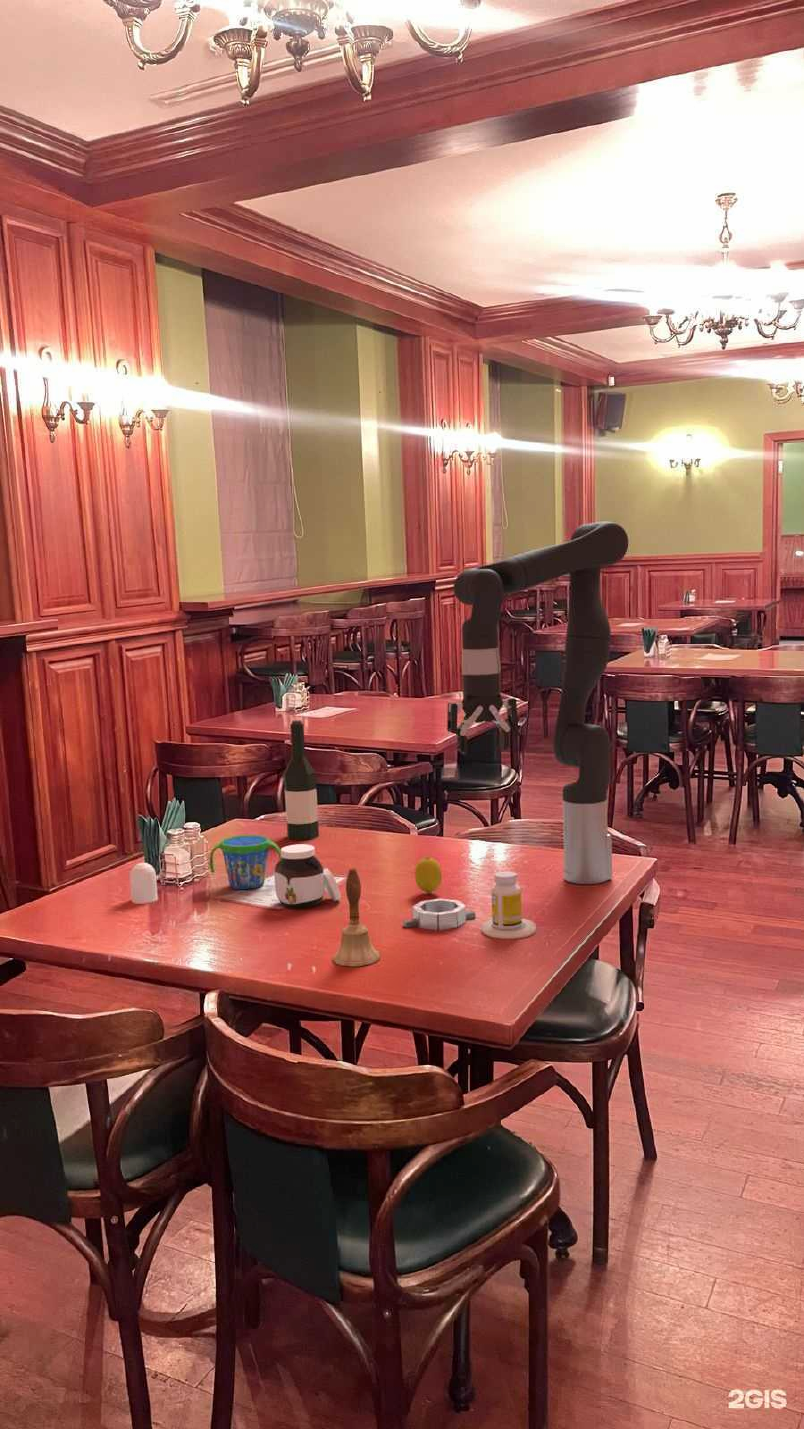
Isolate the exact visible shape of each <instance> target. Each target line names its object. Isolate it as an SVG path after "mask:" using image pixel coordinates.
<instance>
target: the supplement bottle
mask: <svg viewBox="0 0 804 1429" xmlns="http://www.w3.org/2000/svg"><path fill="white" fill-rule="evenodd" d="M517 875H518V874H517V873H516V872H515V871H508V870H507V871H499V872H496V873H495V874H494V882H495V884H494V885H493V886H492V887H491V914H492V915H491V918H492V919H491V920H492V922H493V926H494V927H495V928H498V929H505V930H509V929H516V928H518V927H520V926H521V924H522V915H523V914H522V891H521V886H520V885H518V884H517V880H518V879H517V878H518V876H517Z"/></svg>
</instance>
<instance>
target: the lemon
mask: <svg viewBox="0 0 804 1429" xmlns="http://www.w3.org/2000/svg"><path fill="white" fill-rule="evenodd" d="M441 868H442V867H441V865H440V863H439V862H438V861H437V860H435V859H434V858H432V857H430V856H425V858H422V859H420V860H419V861H418V863H417V865H416V867H415V871H414V879H415V883H416V886H417V887H418V888H419V889H420V890H422V891H423V892H425V893H426V894H428V895H431V894H432V893H433V892H434V891H436V890H438V888H439V887H440V885H441V884H442V878H443V877H442V874H443V873H442V869H441Z"/></svg>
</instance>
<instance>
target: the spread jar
mask: <svg viewBox="0 0 804 1429" xmlns="http://www.w3.org/2000/svg"><path fill="white" fill-rule="evenodd" d="M280 851H281V856H282V858H281V859H280V860H278V861H277V863H276V865H275V866H274V888H275V895H276V897H277V899H278V901H279V903H280V904H281V905H282V906H284V907H285V908H287V909H294V910H301V909H309V908H312V907H316V905H318V904H319V903H320V902H322V901H323V898H324V897H325V892H327V894H328V895H329V897H330V898H331V899H332V901H333V902H337V901H338V900H341V899H342V893H341V891H340V888H339V886H338V883H337V881H336V878H334V874H332V871H330V870H329V869H328V868H327V867H326V868H324V866H323V865H322V863H321V861H320V860H319V858H318V857H316V850H315V846H313V845H312V844H303V843H302V844H299V843H298V844H290V845H287V846H283V847H282V848H280Z"/></svg>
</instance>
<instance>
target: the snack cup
mask: <svg viewBox="0 0 804 1429" xmlns="http://www.w3.org/2000/svg"><path fill="white" fill-rule="evenodd" d="M270 847H273V849H274V850H275V851H276V852H277V854H278V856H279V858H278V859H279V860H280V859H281V858H282V856H281V848H280V847H279V845H277V843H276V842H274V841H272V840H271V839H269V837H268V836H263V835H257V834H247V835H246V834H244V835H235V836H230V837H226V838H224V839H222V840H220V842H219V843H218V844H216V845H214V847H213V848H212V849H211V852H210V855H209V859H208V860H209V869H210V871H211V873H214V872H215V866H214V857H213V856H214V852H215V851H217V849H220V850H221V851H222V855H223V859H224V865H225V871H226V874H227V879H228V883H229V886H230V887H232V888H233V889H236V890H249V889H256V888H260V887H261V886H263V885H264V884H265V881H266V879H265V878H266V872H267V871H266V870H267V860H268V854H269V849H270ZM279 860H278V861H279Z"/></svg>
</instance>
